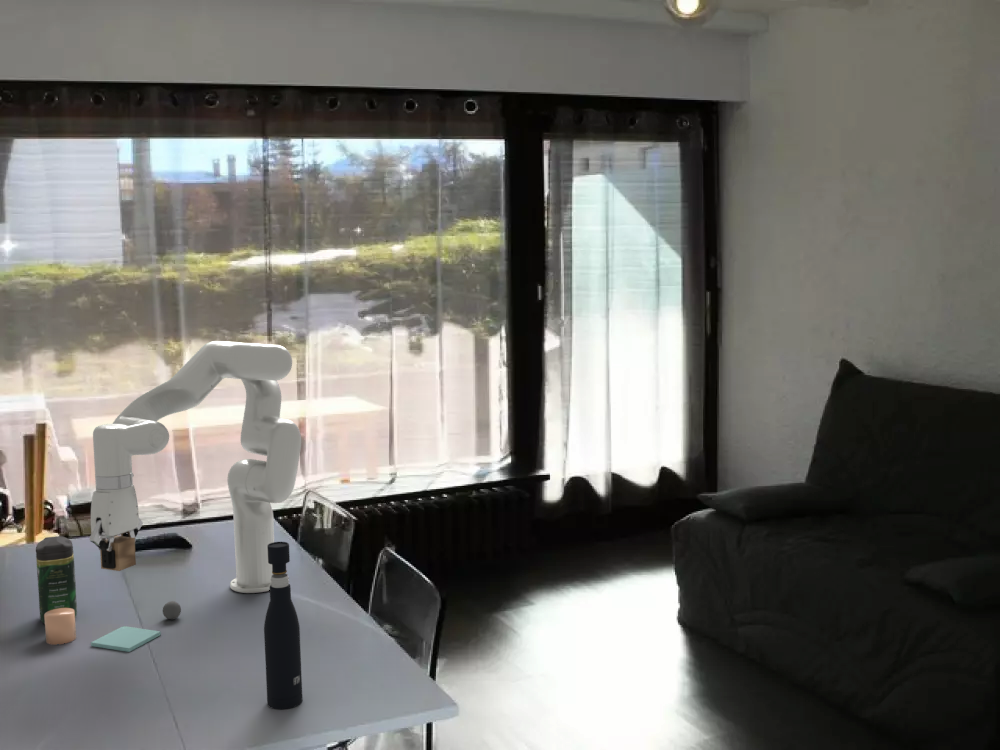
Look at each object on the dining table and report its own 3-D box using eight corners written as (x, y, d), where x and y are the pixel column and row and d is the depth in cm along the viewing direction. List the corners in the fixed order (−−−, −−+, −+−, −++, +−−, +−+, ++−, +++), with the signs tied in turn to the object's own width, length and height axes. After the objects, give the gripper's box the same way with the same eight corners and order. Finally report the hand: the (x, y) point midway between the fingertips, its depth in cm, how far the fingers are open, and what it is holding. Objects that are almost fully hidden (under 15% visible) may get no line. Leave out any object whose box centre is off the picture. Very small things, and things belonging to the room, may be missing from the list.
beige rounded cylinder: (60, 632, 232) (58, 606, 231) (82, 636, 230) (80, 609, 229) (39, 642, 226) (37, 615, 225) (61, 646, 224) (60, 619, 223)
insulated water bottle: (269, 695, 198) (262, 540, 194) (304, 693, 199) (297, 538, 195) (265, 710, 192) (257, 550, 188) (300, 708, 192) (294, 548, 188)
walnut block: (117, 562, 232) (116, 535, 231) (135, 564, 230) (134, 537, 229) (101, 568, 228) (99, 541, 227) (119, 571, 226) (117, 543, 225)
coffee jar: (78, 622, 238) (72, 542, 235) (40, 627, 235) (34, 546, 232) (77, 608, 247) (72, 531, 244) (40, 614, 244) (34, 535, 241)
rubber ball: (170, 614, 242) (169, 598, 241) (185, 616, 240) (184, 599, 240) (159, 620, 238) (158, 603, 238) (173, 622, 237) (172, 605, 236)
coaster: (123, 629, 233) (123, 626, 233) (160, 634, 229) (160, 631, 229) (91, 645, 224) (90, 642, 224) (129, 651, 220) (129, 648, 220)
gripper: (128, 472, 236) (132, 551, 238) (70, 488, 220) (75, 573, 222) (155, 475, 233) (159, 555, 235) (98, 491, 217) (103, 577, 219)
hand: (118, 563), depth 229 cm, fingers closed on walnut block, 5 cm apart
